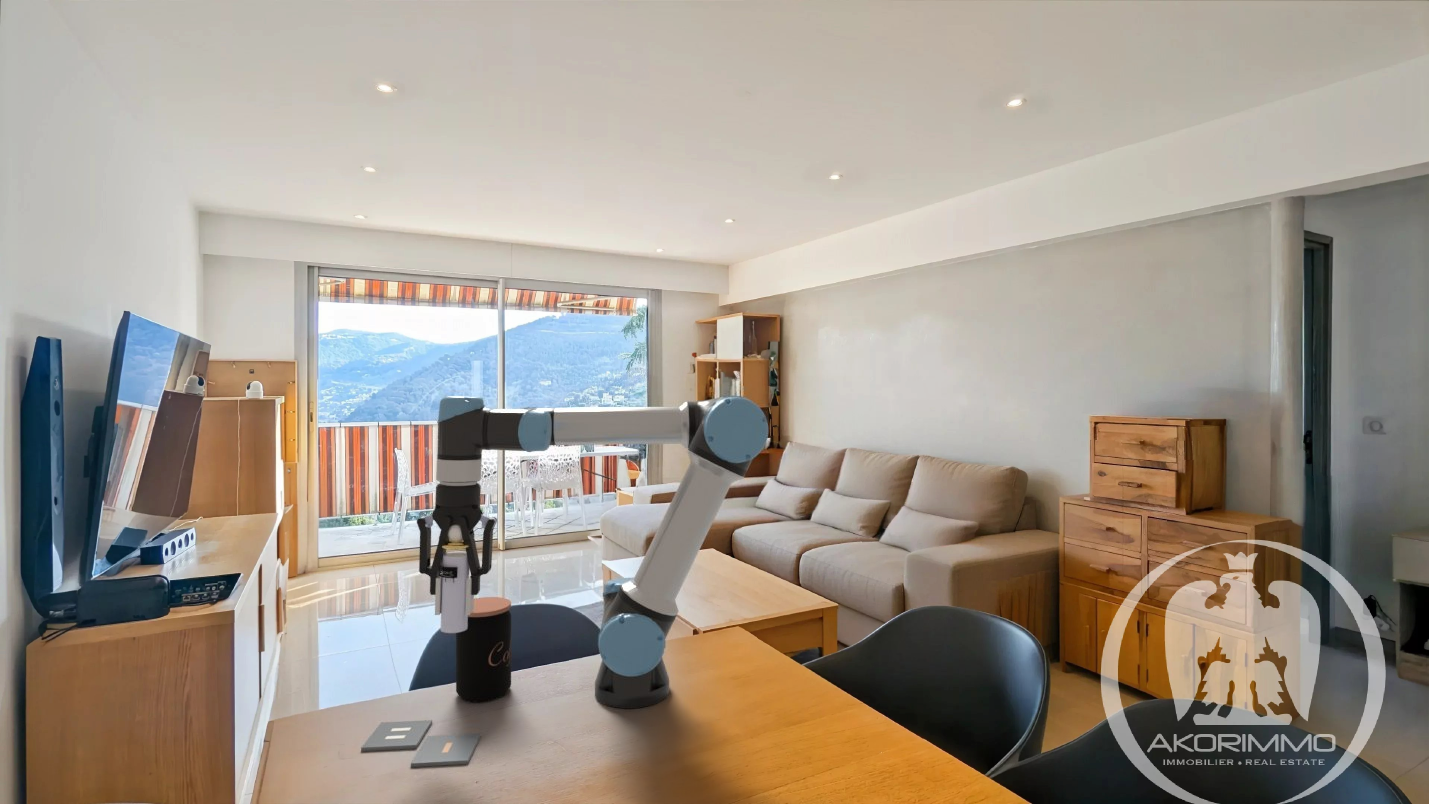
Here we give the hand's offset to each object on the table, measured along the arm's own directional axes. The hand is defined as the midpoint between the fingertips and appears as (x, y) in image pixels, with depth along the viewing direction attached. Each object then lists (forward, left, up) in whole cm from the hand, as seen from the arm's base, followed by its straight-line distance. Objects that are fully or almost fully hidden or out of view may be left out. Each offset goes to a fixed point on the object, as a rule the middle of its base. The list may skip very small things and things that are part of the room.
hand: (454, 612), depth 122 cm
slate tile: (0, +6, -22) cm, 23 cm away
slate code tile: (+10, 0, -22) cm, 24 cm away
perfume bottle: (0, 0, -4) cm, 4 cm away
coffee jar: (-1, -17, -22) cm, 27 cm away
